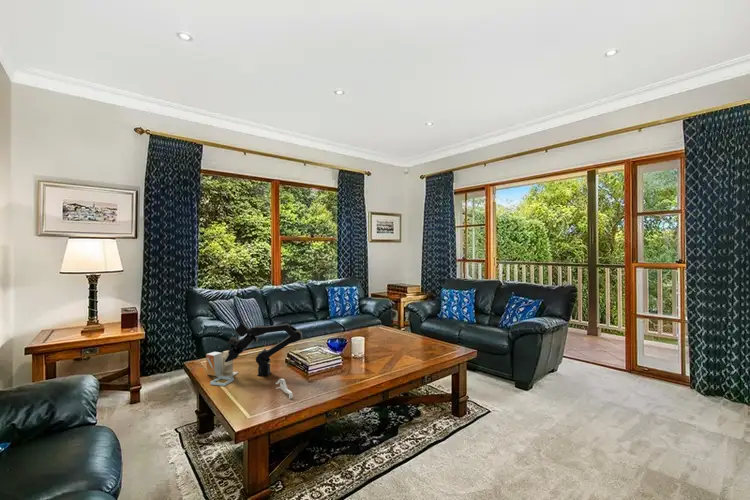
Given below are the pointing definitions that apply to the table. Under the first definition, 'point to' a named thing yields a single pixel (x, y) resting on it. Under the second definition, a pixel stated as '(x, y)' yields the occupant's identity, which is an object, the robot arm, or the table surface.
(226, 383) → the light blue square frame
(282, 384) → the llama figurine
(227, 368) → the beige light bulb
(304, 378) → the table surface
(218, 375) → the mat
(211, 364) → the small box
